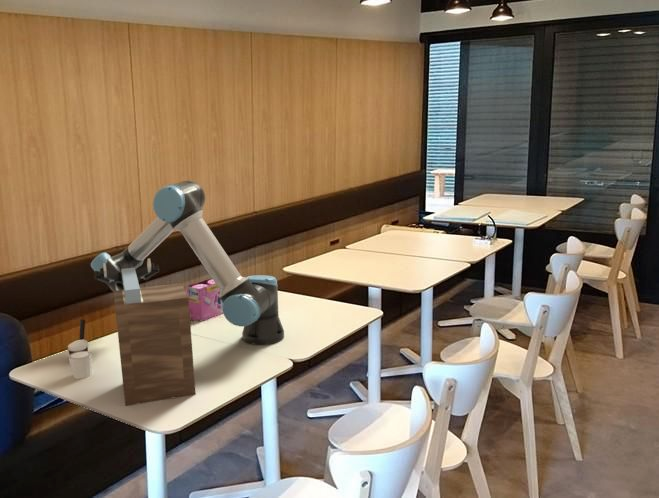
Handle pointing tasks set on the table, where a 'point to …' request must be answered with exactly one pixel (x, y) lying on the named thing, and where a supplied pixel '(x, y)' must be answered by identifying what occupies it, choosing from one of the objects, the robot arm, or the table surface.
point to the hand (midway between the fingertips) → (127, 264)
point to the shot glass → (81, 364)
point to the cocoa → (79, 341)
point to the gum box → (204, 300)
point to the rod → (131, 286)
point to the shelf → (155, 344)
